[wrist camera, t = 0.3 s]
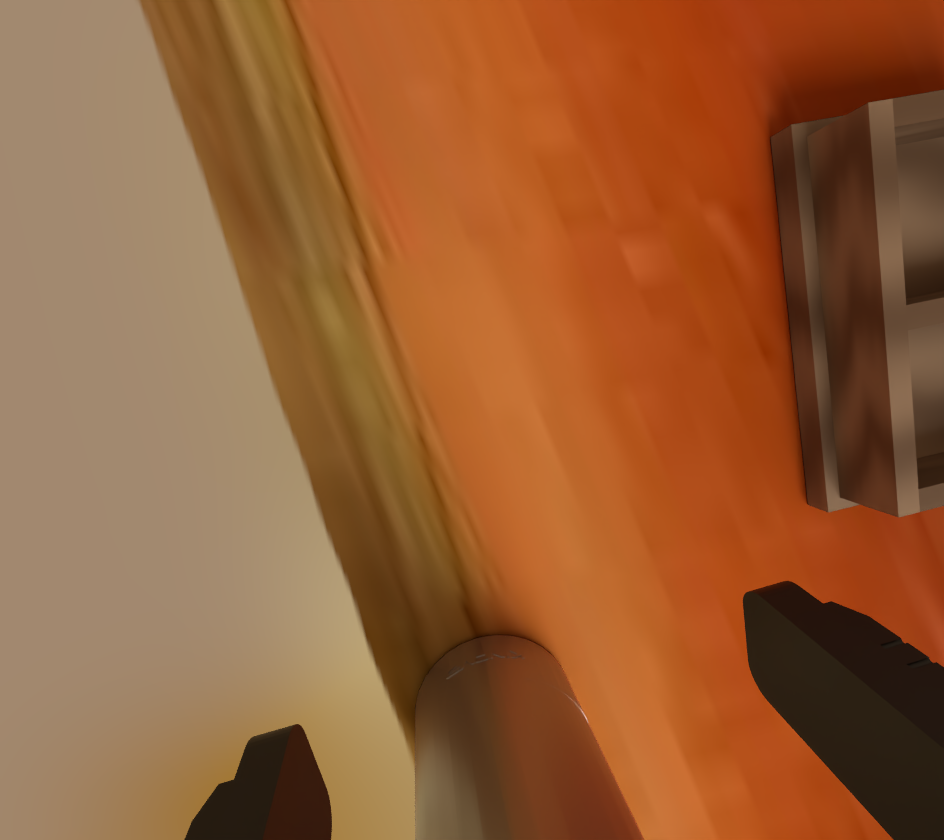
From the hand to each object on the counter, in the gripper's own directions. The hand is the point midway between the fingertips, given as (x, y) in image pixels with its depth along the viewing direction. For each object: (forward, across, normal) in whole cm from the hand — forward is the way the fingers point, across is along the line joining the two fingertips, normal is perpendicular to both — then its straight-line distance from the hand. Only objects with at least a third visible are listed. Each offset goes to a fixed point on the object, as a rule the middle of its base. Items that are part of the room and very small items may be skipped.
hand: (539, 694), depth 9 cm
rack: (+19, +26, 0) cm, 33 cm away
